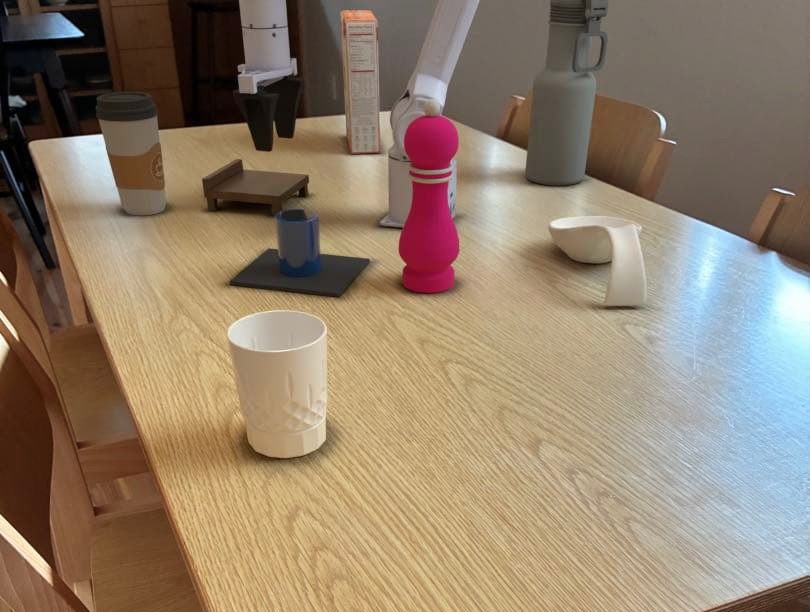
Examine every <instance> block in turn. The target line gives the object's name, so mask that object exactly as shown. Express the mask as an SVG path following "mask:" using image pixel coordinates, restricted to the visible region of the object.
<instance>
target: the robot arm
mask: <svg viewBox="0 0 810 612" xmlns="http://www.w3.org/2000/svg"><path fill="white" fill-rule="evenodd" d="M238 2H239V3H238V4H239V5H238V6H239V12H240V13H239V14H240V23H241V30H242V39H243V41H242V42H243V51H244V61H245V63H242V64H239V65H238V66H237V71H238V72H239V73H240V74H238V75H237V81H238V88H237V89H235V90H233V91H232V96H233V97H232V98H233V100H234V102H235V103H236V105H237V106H238V108H239V110H240V112H241V114H242V115H243V117H244V120H245V122H246V124H247V127H248V131H249V133H250V136H251V140H252V143H253V145H254V149H255V151H257V152H267V153H268V152H272V151H273V148H274V128H275V133H276V135H277V138H280V139H292V140H293V138H294V136H295V130H296V123H297V114H298V109H299V103H300V100H301V97H302V93H303V90H304V89H305V86H306V79H305V78H304V77H298V76H296V75H298V66H297V58H295V57H291V53H290V40H289V39H290V38H289V26H288V15H287V14H288V11H287V0H238ZM479 3H480V0H438V2H437V5H436V8H435V10H434V14H433V16H432V19H431V21H430V25H429V28H428V31H427V33H426V36H425V39H424V41H423V45H422V48H421V51H420V53H419V57H418V60H417V62H416V66H415V68H414V71H413V72H412V74H411V76H410V78H409V80H408V82H407V85H406V88H405V91H404V92H403V94H402V95H401V96H400V97H399V99H397V100H396V101H395V103H394V104H393V105H392V106H393V107H392V108H391V110H390V115H389V123H390V124H389V125H390V128H391V130H392V132H391V133H392V134H391V135H392V139H393V140H392V141H393V145H391V147H390V148H388V150H387V161H388V162H387V163H388V165H387V170H388V172H387V173H388V174H387V175H388V178H387V180H388V213H387V214H386V215H385V216H384V217H382V219H381V220H380V221H379V225H380V226H382V227H392V228H401V229H403V227H404V224H405V222H406V220H407V217H408V215H409V212H410V209H411V204H412V194H413V188H412V180H411V179H410V178H409V177H408V174H409V168H408V166H409V164H410V163H412V162H411V160H410V158H409V157H408V155H407V154H406V152H405V149H404V136H405V132H406V130H407V128H408V126H409V124H410V123H411V122H412V121H413V120H415V119H416V118H418V117H421V116H424V115H426V114H425V112H424V105H425V103H426V102H427V101H428V100H430V99H435V100H436V101H438V103H439V104H440V112H439V114H438V116H442V114H443V111H444V108H445V105H446V104H445V103H446V98H447V93H448V87H449V84H450V81H451V79H452V76H453V73H454V71H455V68H456V66H457V62H458V61H459V58H460V54H461V52H462V49H463V47H464V44H465V42H466V38H467V35H468V33H469V30H470V27H471V25H472V23H473V19H474V17H475V14H476V11H477V9H478V6H479ZM294 76H295V77H294ZM450 163H451V164H452V165H453V170H452V174H453V178H452V179H451V180H449V184H448V204H449V210H450V213H451V216H452V219H453V220H454V218H455V217H456V216H457V212H456V199H457V198H456V197H457V176H458V175H457V173H458V172H457V170H458V169H457V160H456V159H455V158H454V157H453V158H452V160H451V161H450Z"/></svg>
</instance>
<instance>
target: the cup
mask: <svg viewBox="0 0 810 612" xmlns="http://www.w3.org/2000/svg"><path fill="white" fill-rule="evenodd" d="M274 223H275V224H274V225H275V235H276V244H277V249H278V257H279V267H280V272H281V273H282V274H284V275H287V276H291V277H307V276H312V275H315V274H317V273H319V272H320V271H321V270H322V264H321V254H322V249H321V233H320V217H319V213H317V212H316V211H314V210H310V209H306V208H305V209H303V208H295V209H294V208H293V209H286V210H283V211H282V212H279V213H277V214H276V215H275V216H274Z"/></svg>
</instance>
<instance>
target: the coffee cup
mask: <svg viewBox="0 0 810 612" xmlns="http://www.w3.org/2000/svg"><path fill="white" fill-rule="evenodd" d="M95 111H96V118H97V119H98V122H99V126H100V131H101V132H102V133H101V134H102V137H103V141H104V145H105V151H106V154H107V159H108V161H109V165H110V170H111V172H112V173H111V174H112V176H113V180H114V184H115V187H116V188H117V189H116V190H117V193H118V196H119V199H120V203H121V207H122V209H124V211H125V213H126V214H128V215H133V216H151V215H156V214H159V213H160V214H161V213H162V212H164V211H165V210H166V206H167V197H166V196H167V194H166V181H165V171H164V163H163V154H162V153H163V151H162V144H161V142H160V132H159V131H160V130H159V122H158V115H159V112H158V109H157V104H156V103H155V102H154V101H153V98H152V95H151V94H150V93H147V92H143V91H142V92H140V91H120V92H119V91H118V92H109V93H105V94H101V95H98V96H97V97H96V105H95Z"/></svg>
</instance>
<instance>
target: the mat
mask: <svg viewBox="0 0 810 612" xmlns="http://www.w3.org/2000/svg"><path fill="white" fill-rule="evenodd" d="M370 262H371V261H370V258H367V257H356V256H347V255H346V256H345V255H335V254H326V253H321V264H322V270H321V271H320V272H319V273H317V274H315V275H312V276H307V277H291V276H287V275H284V274H282V273H281V272H280V267H279V257H278V248H267V249H266V250H265V251H263V252H262V253H261V254H260V255H259V256H258V257H256V258H255V259H254V260H253V261H251V262H250V263H249V264H248V265H247V266H246V267H244V268H243V269H242V270H241V271H239V273H237V274H236V275H235V276H234V277H232V278H231V279H230V280H229V285H230V286H238V287H247V288H253V289H263V290H271V291H272V290H273V291H280V292H281V291H282V292H289V293H290V292H291V293H299V294H307V295H317V296H324V297H334V298H341V296H342V294H344V292H346V291H347V289H348V288H349V287H350V285H351V284H352V283H353V282H354V281H355V280H356V279H357V278H358V277H359V276H360V274H361V273H362V272H363V271H364V269H365V268H366V267H367V266H368V265H369V264H370Z"/></svg>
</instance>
